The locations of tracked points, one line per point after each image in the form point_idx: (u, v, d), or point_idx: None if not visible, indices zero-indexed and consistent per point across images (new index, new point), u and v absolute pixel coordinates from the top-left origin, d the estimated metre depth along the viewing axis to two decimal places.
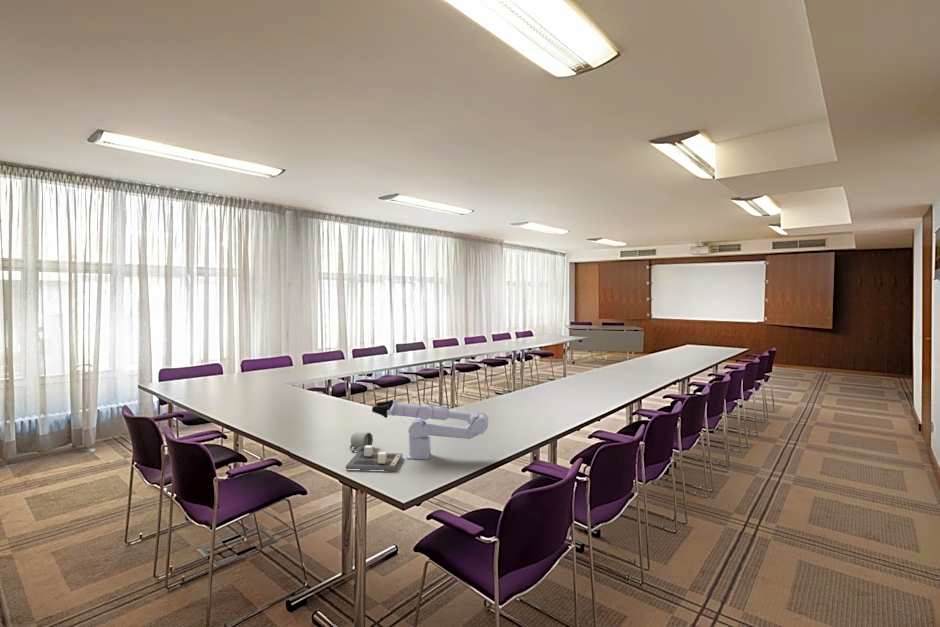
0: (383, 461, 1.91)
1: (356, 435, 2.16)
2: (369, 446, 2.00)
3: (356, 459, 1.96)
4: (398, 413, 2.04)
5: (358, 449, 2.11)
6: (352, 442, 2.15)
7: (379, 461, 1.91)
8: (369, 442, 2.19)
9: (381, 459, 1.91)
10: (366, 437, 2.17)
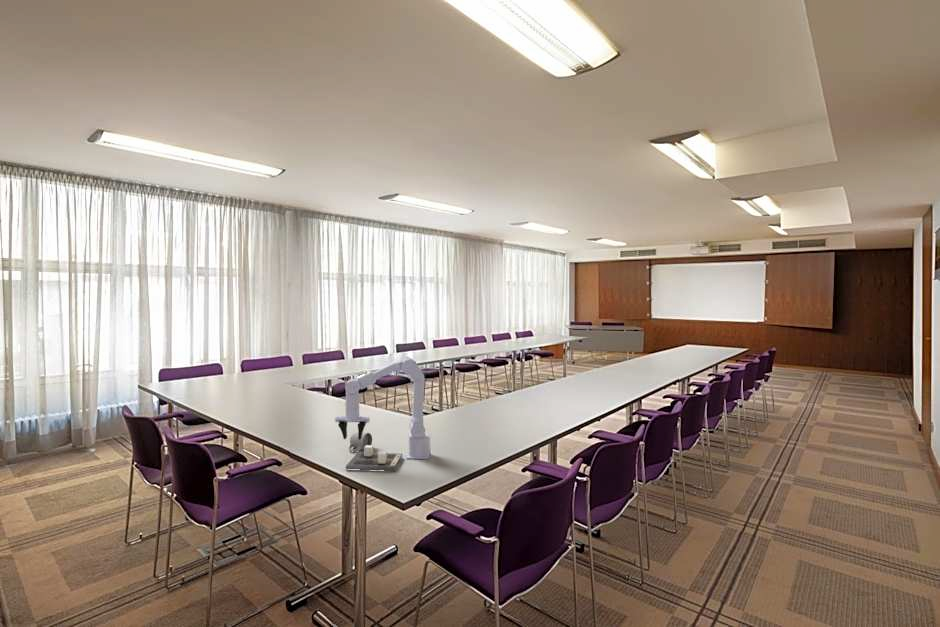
0: (383, 461, 1.91)
1: (355, 435, 2.15)
2: (369, 446, 2.00)
3: (356, 459, 1.96)
4: None
5: (357, 449, 2.11)
6: (351, 442, 2.15)
7: (379, 461, 1.91)
8: (368, 442, 2.19)
9: (381, 459, 1.91)
10: (365, 437, 2.16)
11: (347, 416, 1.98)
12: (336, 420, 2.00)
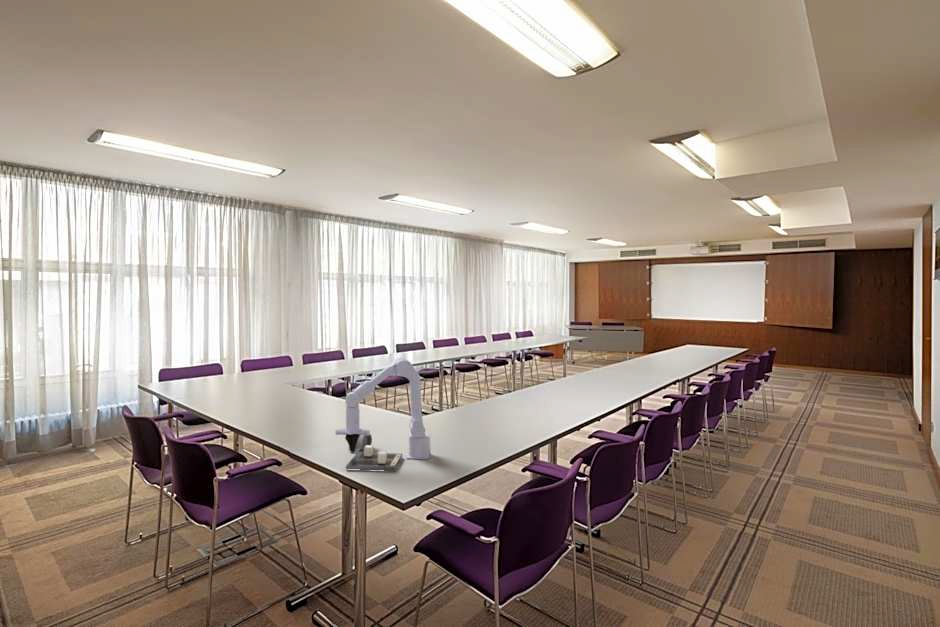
0: (383, 461, 1.91)
1: None
2: (369, 446, 2.00)
3: (356, 459, 1.96)
4: None
5: (357, 449, 2.11)
6: None
7: (379, 461, 1.91)
8: (368, 442, 2.18)
9: (381, 459, 1.91)
10: (365, 437, 2.16)
11: (347, 429, 1.98)
12: (336, 433, 2.00)
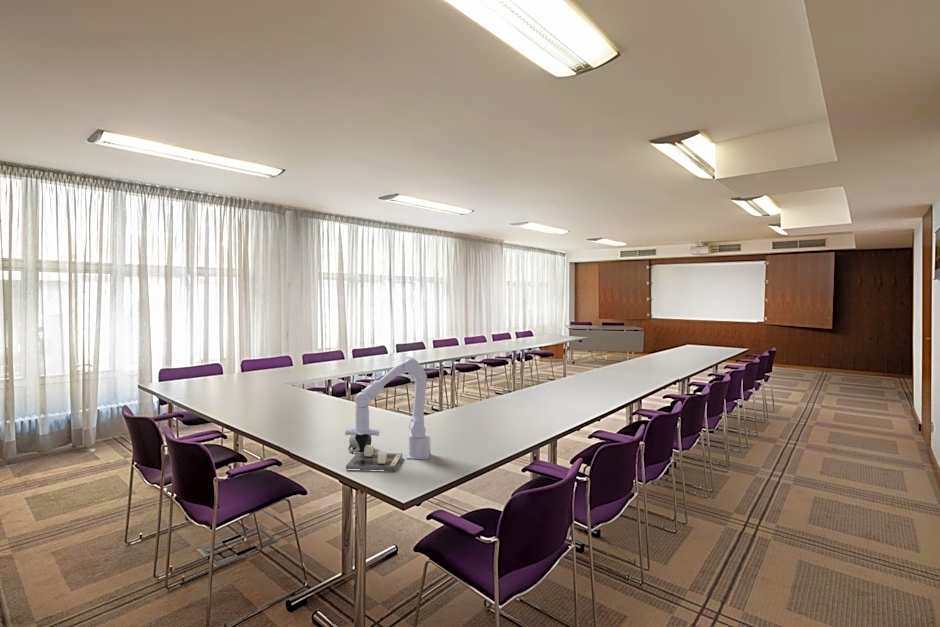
0: (383, 461, 1.91)
1: (355, 435, 2.15)
2: (369, 446, 2.00)
3: (356, 459, 1.96)
4: None
5: (357, 450, 2.10)
6: (351, 443, 2.14)
7: (379, 461, 1.91)
8: (368, 443, 2.18)
9: (381, 459, 1.91)
10: None
11: (357, 429, 1.98)
12: (346, 433, 2.00)
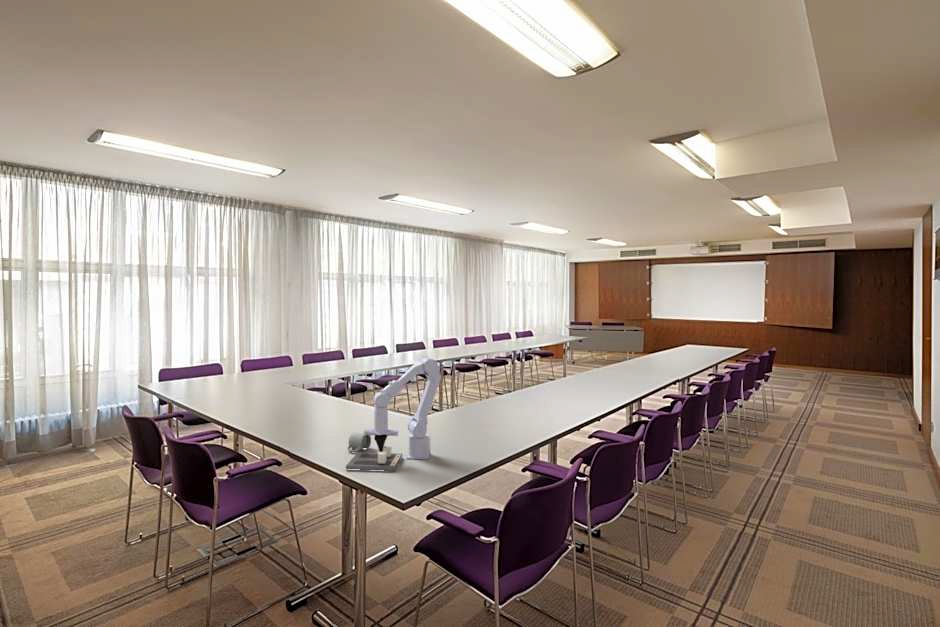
0: (383, 461, 1.91)
1: (354, 436, 2.14)
2: (388, 446, 2.00)
3: (356, 459, 1.96)
4: None
5: (356, 450, 2.10)
6: (350, 443, 2.14)
7: (379, 461, 1.91)
8: (367, 443, 2.18)
9: (381, 459, 1.91)
10: (364, 437, 2.15)
11: (376, 429, 1.98)
12: (365, 433, 1.99)
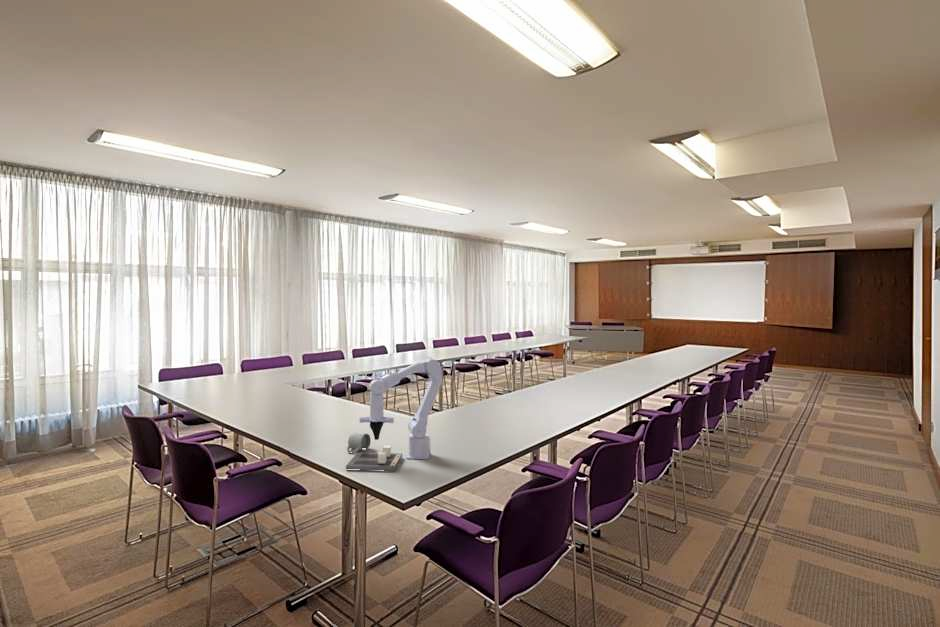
0: (383, 461, 1.91)
1: (354, 436, 2.14)
2: (387, 446, 2.00)
3: (356, 459, 1.96)
4: None
5: (355, 450, 2.10)
6: (349, 443, 2.13)
7: (379, 461, 1.91)
8: (367, 443, 2.17)
9: (381, 459, 1.91)
10: (364, 438, 2.15)
11: (372, 416, 1.98)
12: (360, 420, 2.00)
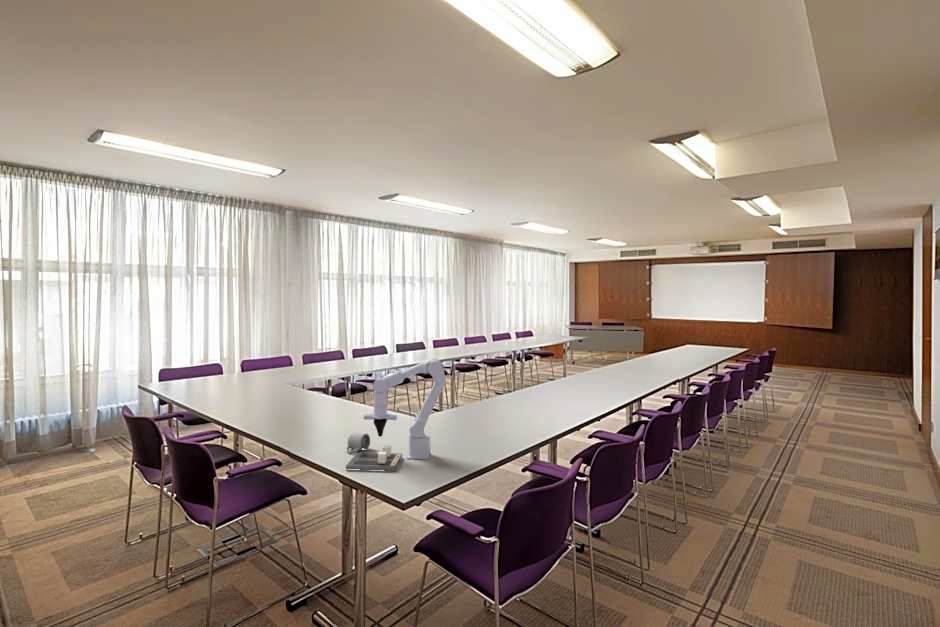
0: (383, 461, 1.91)
1: (353, 436, 2.14)
2: (387, 446, 2.00)
3: (356, 459, 1.96)
4: None
5: (355, 450, 2.09)
6: (349, 443, 2.13)
7: (379, 461, 1.91)
8: (366, 443, 2.17)
9: (381, 459, 1.91)
10: (363, 438, 2.15)
11: (375, 414, 2.02)
12: (364, 417, 2.04)
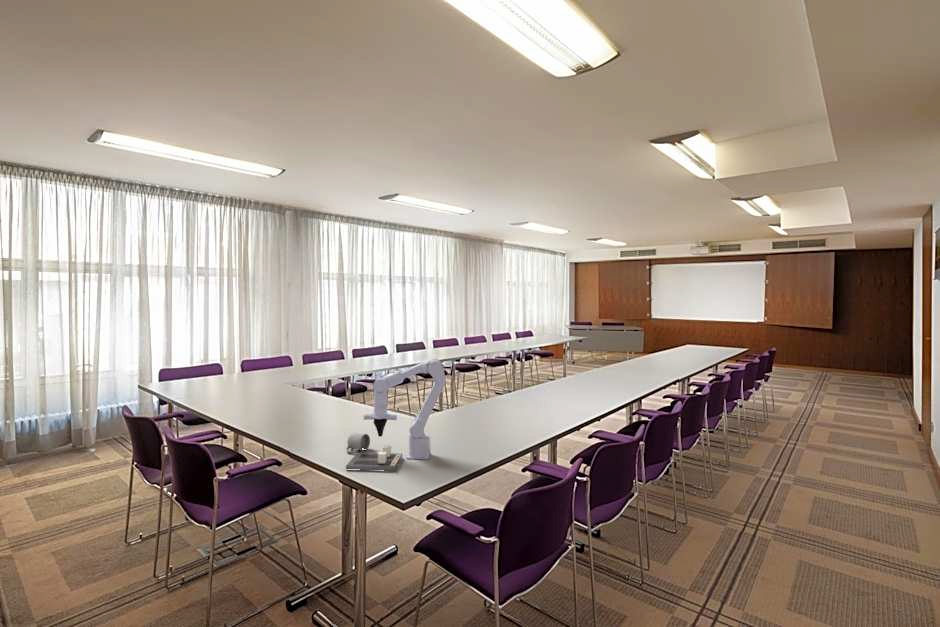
0: (383, 461, 1.91)
1: (353, 436, 2.14)
2: (387, 446, 2.00)
3: (356, 459, 1.96)
4: None
5: (355, 450, 2.09)
6: (349, 443, 2.13)
7: (379, 461, 1.91)
8: (366, 443, 2.17)
9: (381, 459, 1.91)
10: (363, 438, 2.15)
11: (375, 414, 2.02)
12: (364, 417, 2.04)
